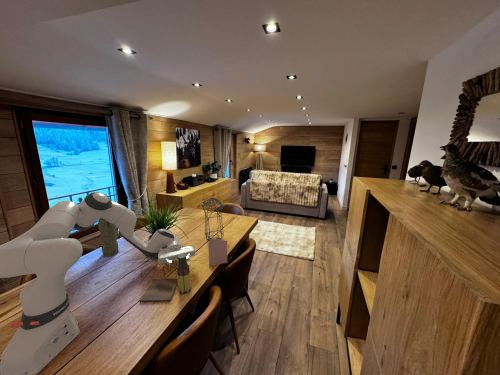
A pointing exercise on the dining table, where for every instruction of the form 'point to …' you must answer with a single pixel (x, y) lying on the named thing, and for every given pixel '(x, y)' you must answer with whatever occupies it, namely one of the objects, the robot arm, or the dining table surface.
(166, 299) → the walnut board
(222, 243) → the greeting card
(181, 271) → the sauce bottle
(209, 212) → the geometric lantern
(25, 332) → the robot arm
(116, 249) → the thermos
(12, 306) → the dining table surface
